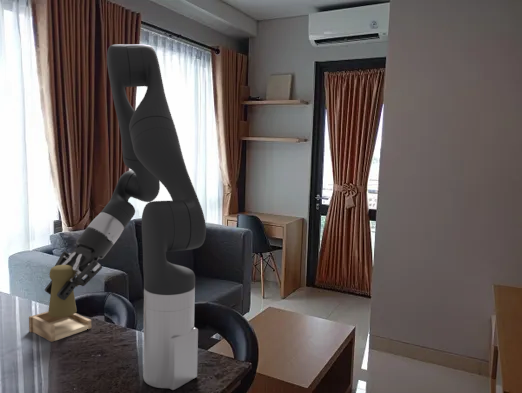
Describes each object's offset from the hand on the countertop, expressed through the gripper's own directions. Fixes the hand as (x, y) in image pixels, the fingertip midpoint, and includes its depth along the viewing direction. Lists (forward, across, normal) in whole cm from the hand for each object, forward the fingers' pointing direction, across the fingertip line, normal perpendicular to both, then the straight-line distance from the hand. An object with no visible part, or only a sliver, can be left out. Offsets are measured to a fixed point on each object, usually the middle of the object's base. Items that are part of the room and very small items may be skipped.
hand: (54, 295), depth 97 cm
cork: (+2, 0, +5) cm, 5 cm away
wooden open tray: (+5, 0, +7) cm, 9 cm away
